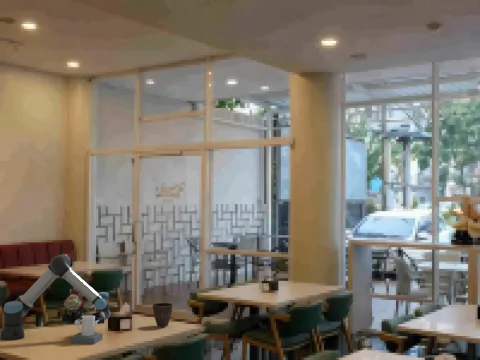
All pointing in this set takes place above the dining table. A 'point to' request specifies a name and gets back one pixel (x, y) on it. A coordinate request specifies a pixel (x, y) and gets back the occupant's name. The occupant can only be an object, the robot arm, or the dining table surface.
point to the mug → (87, 325)
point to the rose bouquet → (76, 307)
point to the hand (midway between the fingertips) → (85, 323)
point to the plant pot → (162, 313)
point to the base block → (86, 338)
